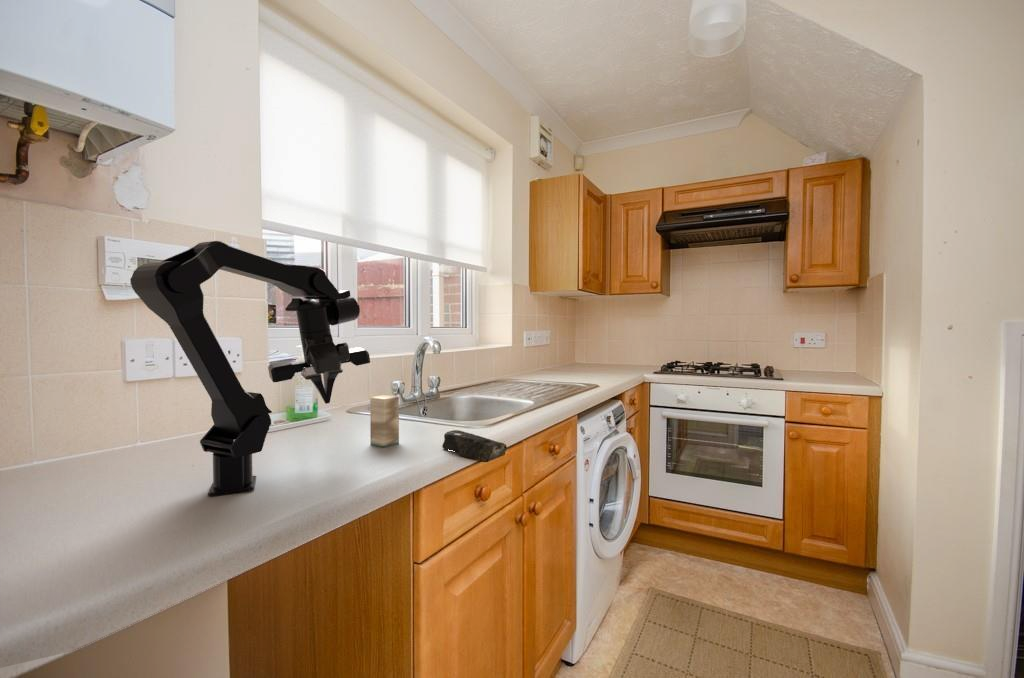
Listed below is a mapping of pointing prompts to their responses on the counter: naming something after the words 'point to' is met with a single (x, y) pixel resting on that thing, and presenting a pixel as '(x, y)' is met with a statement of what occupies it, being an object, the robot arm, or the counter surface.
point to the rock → (473, 446)
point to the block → (384, 420)
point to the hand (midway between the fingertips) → (327, 403)
